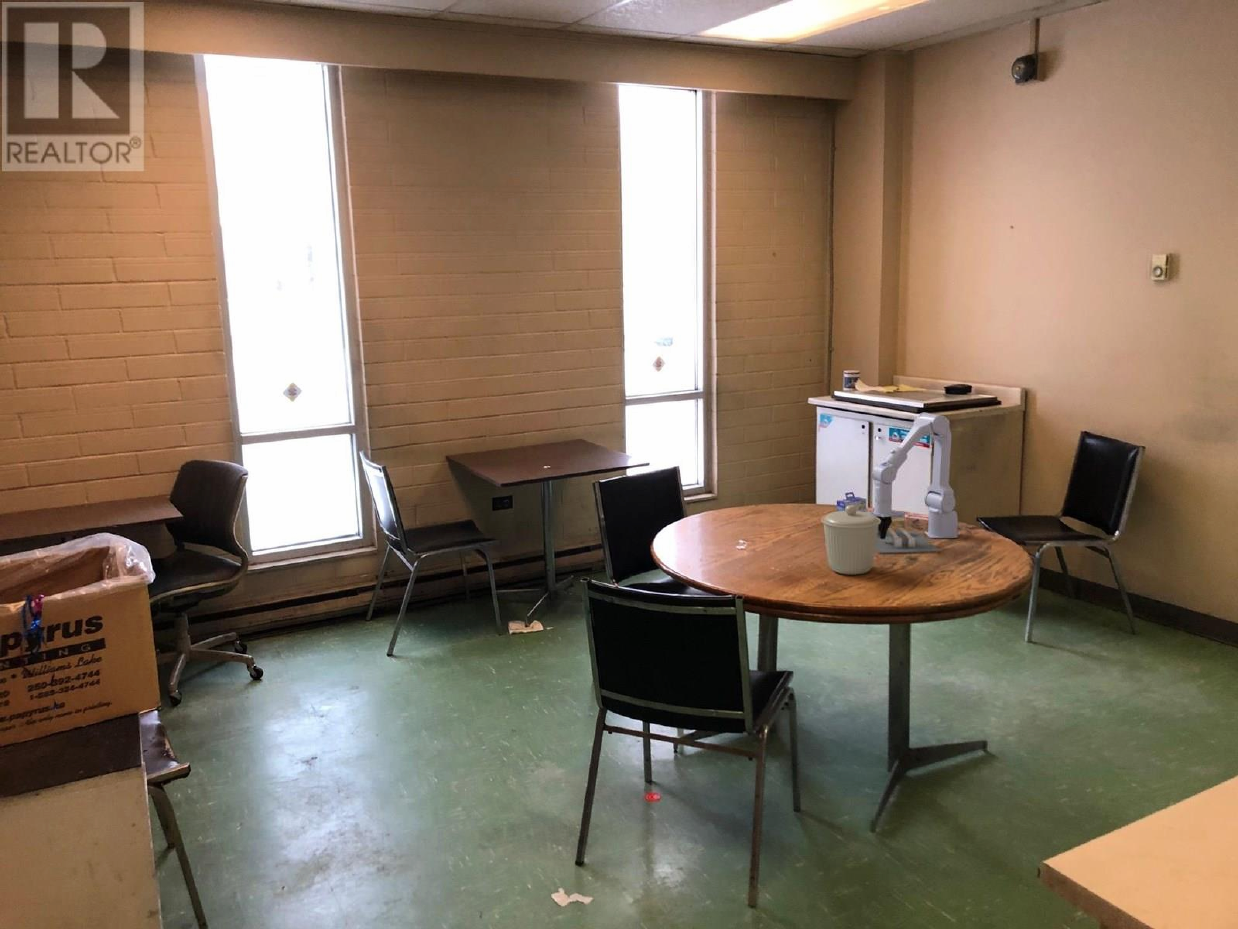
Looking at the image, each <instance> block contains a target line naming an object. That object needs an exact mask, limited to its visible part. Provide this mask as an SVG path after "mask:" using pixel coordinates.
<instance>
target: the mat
mask: <svg viewBox="0 0 1238 929" xmlns="http://www.w3.org/2000/svg"><path fill="white" fill-rule="evenodd" d="M906 531H907V532H908V533H909V534H910V535H911V536H912V537H914V538H915V548H908V547H907V545H906V544H905V543H904V542H903V541H902V548H895V547H894V546H893V544H892V543H891V541H890V540H889V539H888V538H887V536H886V537H885V539H881V538H880V535H879V531H878V533H877V541H876V548H875V552H876V553H879V555H891V554H890V553H902V554H916V553H915V552H921V553H920V554H926V553H925V552H941V551H940V550H939V549H938V548H937V546H935V545H934V544H933V543H932V542H931V541H929V539H927V538H926V537H925V536H924V535H923V534H922V533H921V532H919V530H906ZM894 532H895V533H896V534H897V531H896V530H895V531H894Z"/></svg>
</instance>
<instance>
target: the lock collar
mask: <svg viewBox="0 0 1238 929" xmlns="http://www.w3.org/2000/svg"><path fill="white" fill-rule="evenodd" d="M891 519H892V523H891V524H890V526H899V527H902V528H903V529H905V528H906V520H905V518H891ZM905 530H906V529H905Z"/></svg>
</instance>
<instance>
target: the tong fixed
mask: <svg viewBox="0 0 1238 929" xmlns="http://www.w3.org/2000/svg"><path fill="white" fill-rule="evenodd" d="M907 531H908V530H906V529H903V528H902V527H900V526H897V535H898V537H900V538H901V539H902V541H903V542H904V543H905V544H906V545H907V547H908V548H915V538H914V537H912V536H911V535H910V534H909V533H908V532H907Z"/></svg>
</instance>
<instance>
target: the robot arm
mask: <svg viewBox="0 0 1238 929" xmlns="http://www.w3.org/2000/svg"><path fill="white" fill-rule="evenodd" d="M929 436H930V437H931V438H932V439H934V440H933V441H934V443H933V444H934V447H933V461H932V463H933V464H932V477H931V478H932V482H931V484H930V485H929V486H928V487H926V488H927V489H926V493H925V496H924V501H923V502H924V505H925V506H926V507H927V510H928V528H927V529H928V531H924V534H926V535H927V536H928V538H930V539H955V538H958V537H959V536H958V526H959V525H958V522H959V520H958V514H957V511H955V510H954V508H955V506H956V499H955V496H954V492H955V491H954V489H952V487H951V486H950V483H949V482H950V467H951V451H952V450H951V449H952V432H951V429H950V420H949V419H948V418H947V417H946V416H945V415H942V414H934V413H929V412H926V411H925V412H921V413H919V415H917V418H915V419H914V420H913V426H912V427H911V429H910V430H909V432H908V433H907V435H906V436H905V438H904V439H903V441H902V442H901V444H900V445H899V446H898V447H893V449H892V448H891V449H890V450H889V453H888V454H887V455H886V457H885V458H884V459H883V460H882V461H881V462H880V464H877V465H876V466H875V467H873V470H872V472H871V473H870V475H871V478H872V480H873V485H874V508H873V509H874V510H872V511H866V513H870V514H873V515H875V516H876V517H877V518H879V519H880V520H881V523H880V524H879V525H878V532H879V535H880V538H881V539H885V537H886V533H887V530H888V528H889V527H890V526H891V525H890V524H891V523H892V519H905V518H906V517H905V516H906V512H905V511H904V510H903V511H902V510H901V511H900V510H898V511H897V510H892V509H893V508H892V507H893V503H892V502H893V482H894V481H895V480H896V478H897V474H898V470H899V469H900V468H901V466H903V464H904V463H905V462H906V461H907V459H908V453H909V452H910V451H911V450H912V449H913V447H915V445H917V443H918V442H919V441H920V440H921V439H922V438H923V437H929Z"/></svg>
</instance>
